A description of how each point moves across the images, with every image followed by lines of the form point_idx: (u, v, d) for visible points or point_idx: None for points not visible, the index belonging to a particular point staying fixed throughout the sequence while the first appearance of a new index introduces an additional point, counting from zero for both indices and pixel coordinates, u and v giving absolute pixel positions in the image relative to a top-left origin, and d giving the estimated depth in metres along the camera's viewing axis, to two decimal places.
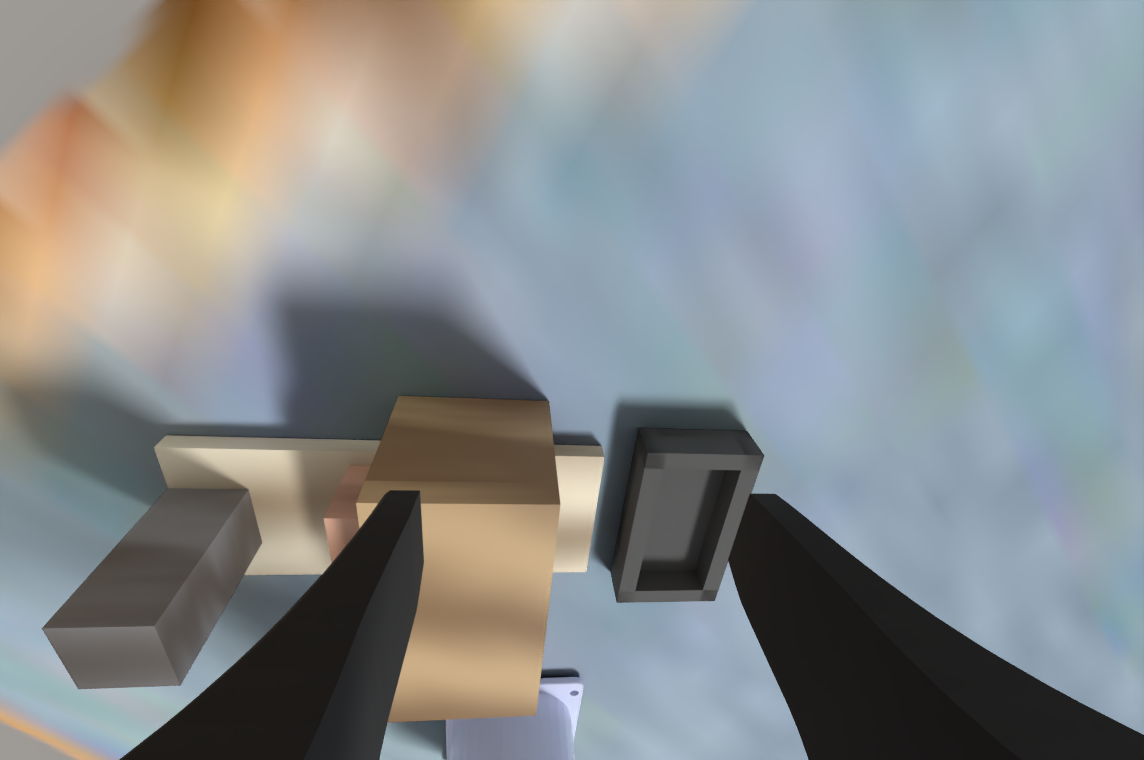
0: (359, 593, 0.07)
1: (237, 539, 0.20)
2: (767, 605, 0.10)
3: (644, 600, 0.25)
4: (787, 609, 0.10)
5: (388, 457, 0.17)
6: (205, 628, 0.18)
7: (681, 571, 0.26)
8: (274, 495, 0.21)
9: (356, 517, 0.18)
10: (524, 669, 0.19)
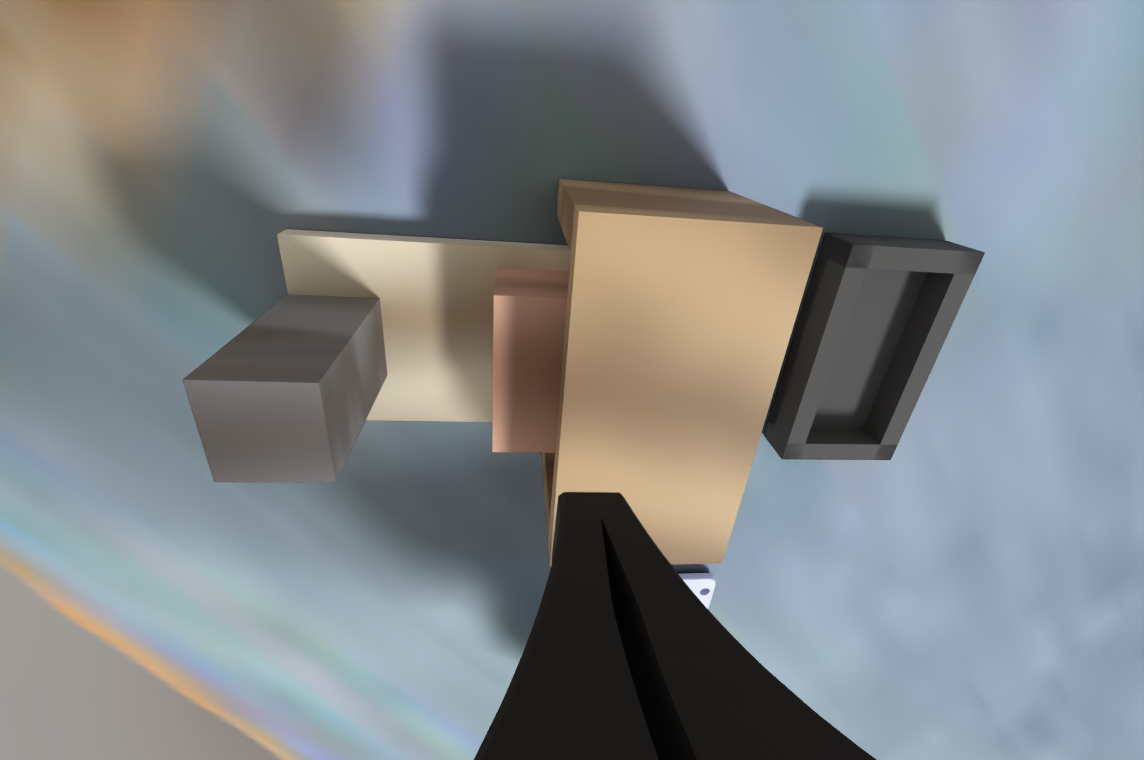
0: (598, 589, 0.08)
1: (372, 349, 0.17)
2: None
3: (813, 457, 0.22)
4: None
5: (586, 198, 0.14)
6: (352, 431, 0.15)
7: (848, 429, 0.23)
8: (408, 307, 0.18)
9: (531, 296, 0.15)
10: (723, 492, 0.16)
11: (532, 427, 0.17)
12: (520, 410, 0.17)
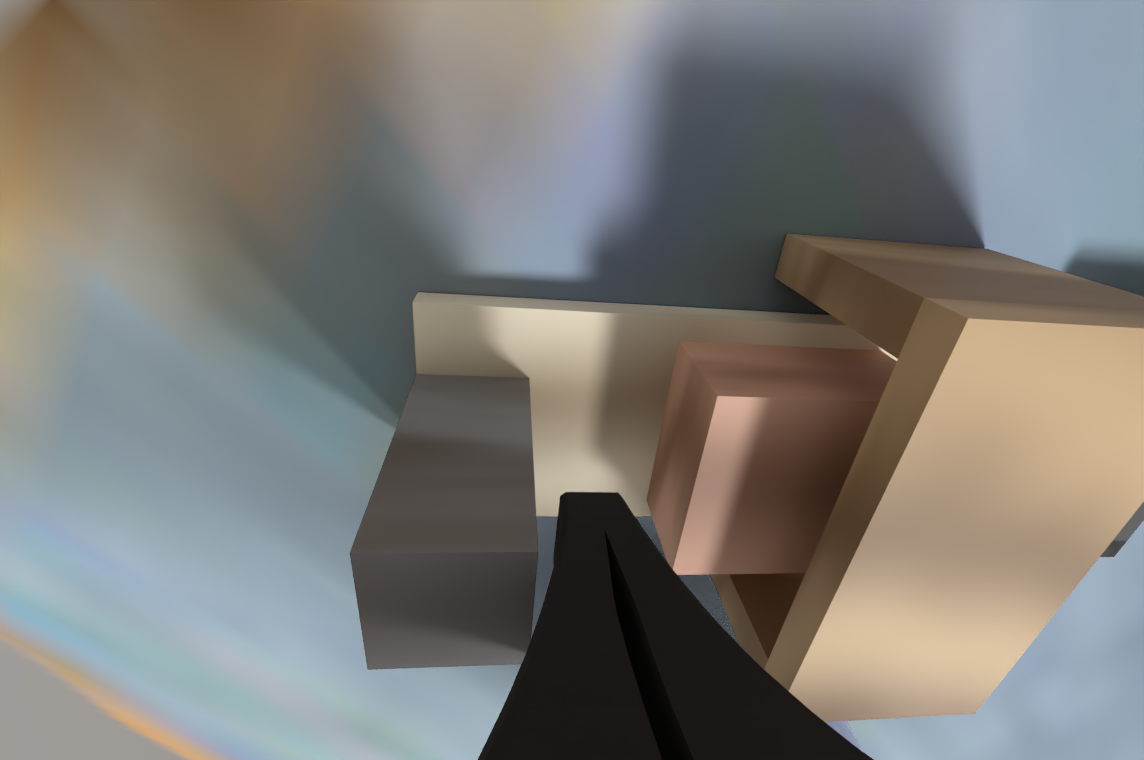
0: (600, 589, 0.08)
1: None
2: None
3: None
4: None
5: (902, 279, 0.10)
6: None
7: None
8: (562, 389, 0.14)
9: (762, 396, 0.11)
10: (1010, 641, 0.13)
11: (726, 547, 0.14)
12: (717, 527, 0.13)
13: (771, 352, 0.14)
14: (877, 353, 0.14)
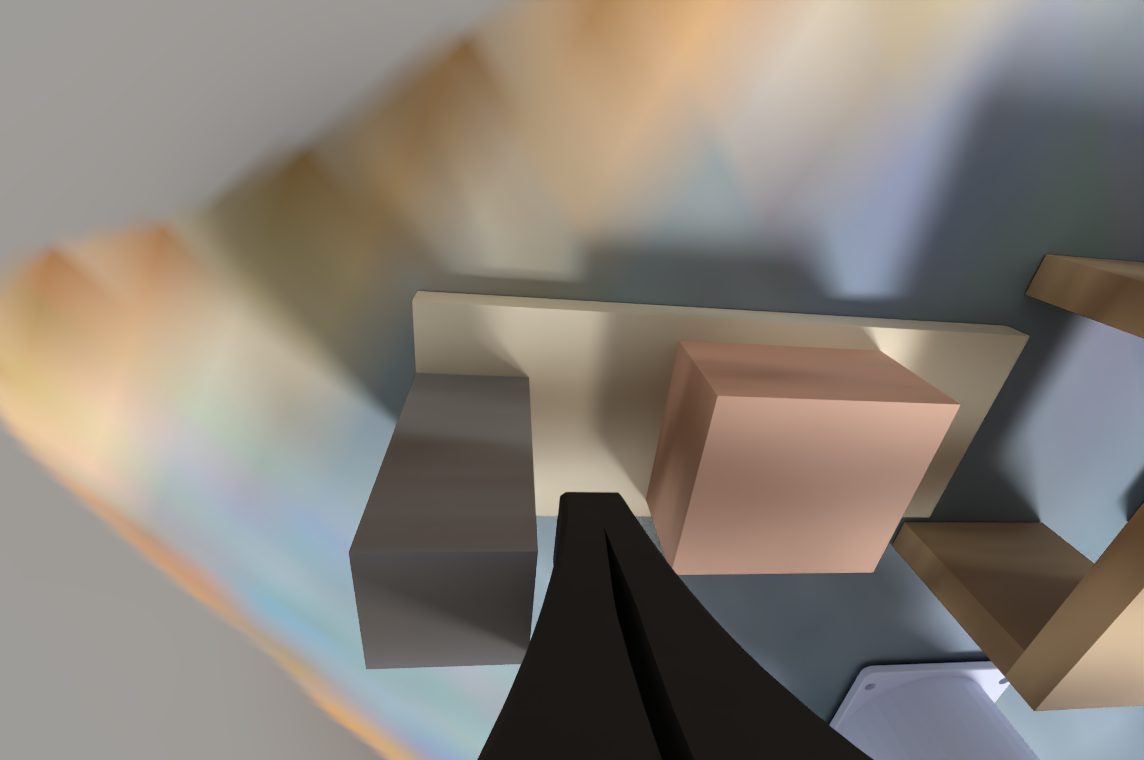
0: (600, 589, 0.08)
1: None
2: None
3: None
4: None
5: None
6: None
7: None
8: (561, 388, 0.14)
9: (763, 396, 0.11)
10: None
11: (726, 547, 0.13)
12: (716, 528, 0.13)
13: (771, 352, 0.14)
14: (877, 353, 0.14)
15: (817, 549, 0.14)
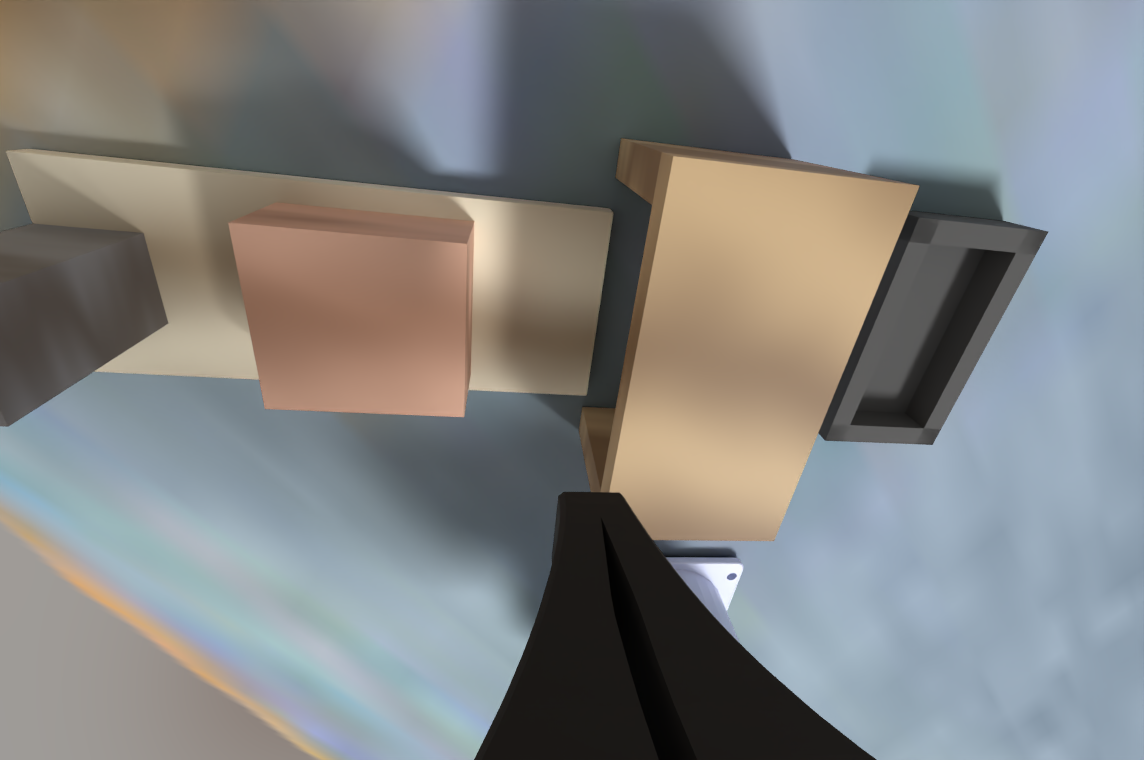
0: (598, 589, 0.08)
1: (122, 287, 0.15)
2: None
3: (856, 439, 0.21)
4: None
5: (667, 150, 0.13)
6: (61, 373, 0.13)
7: (890, 413, 0.22)
8: (179, 245, 0.16)
9: (274, 226, 0.13)
10: (784, 466, 0.16)
11: (306, 381, 0.15)
12: (288, 361, 0.15)
13: (355, 213, 0.16)
14: (465, 221, 0.16)
15: (397, 389, 0.16)
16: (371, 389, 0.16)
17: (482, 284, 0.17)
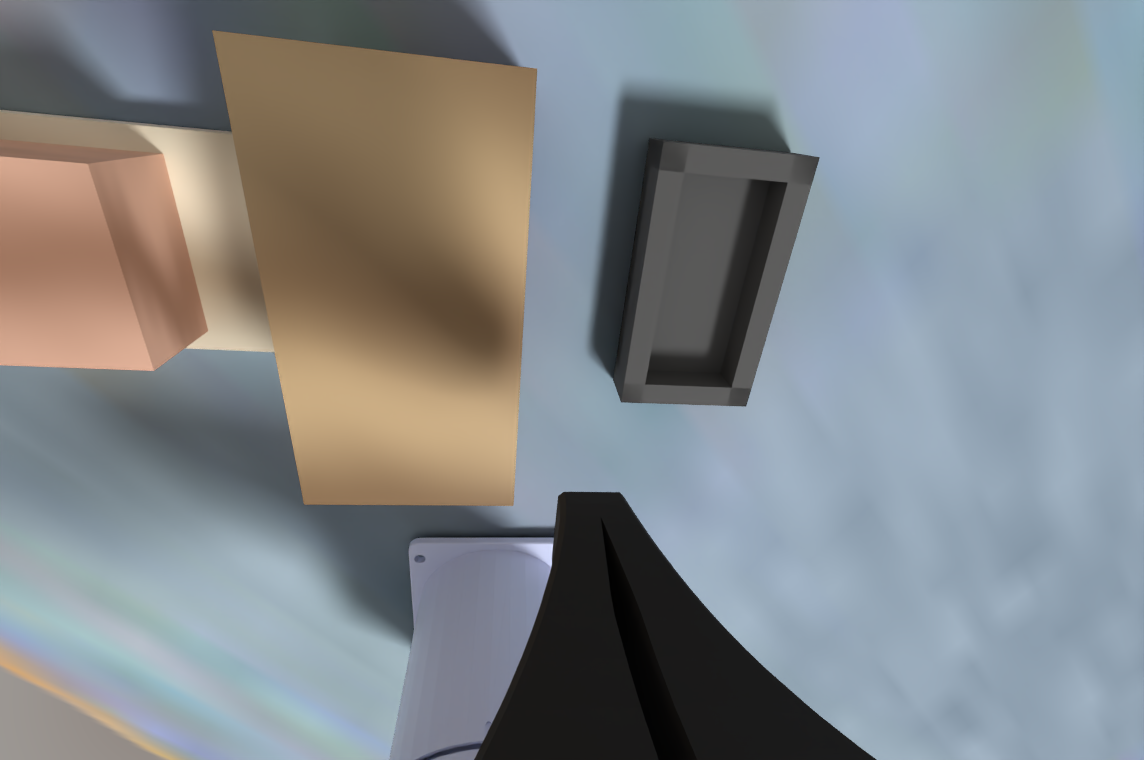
0: (598, 589, 0.08)
1: None
2: None
3: (657, 401, 0.19)
4: None
5: None
6: None
7: (703, 373, 0.20)
8: None
9: None
10: (494, 417, 0.14)
11: None
12: None
13: (10, 142, 0.14)
14: (148, 153, 0.15)
15: (63, 338, 0.14)
16: (33, 338, 0.14)
17: (193, 227, 0.16)
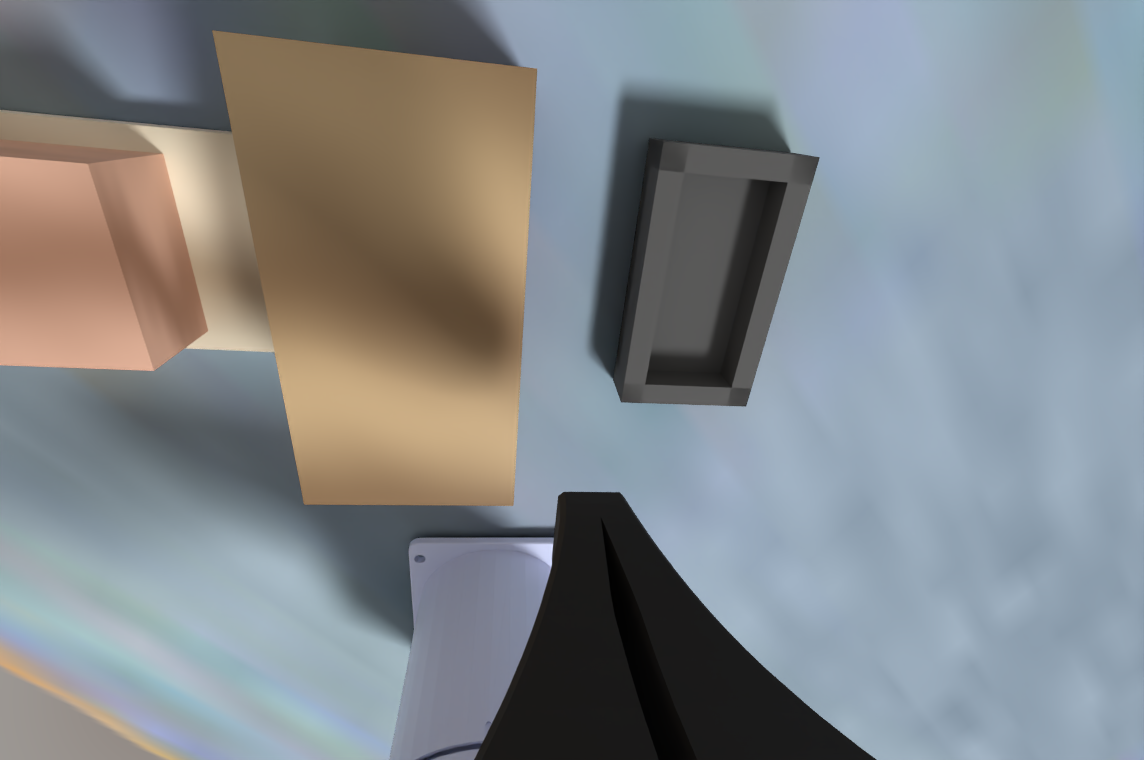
0: (598, 589, 0.08)
1: None
2: None
3: (657, 401, 0.19)
4: None
5: None
6: None
7: (703, 373, 0.20)
8: None
9: None
10: (494, 417, 0.14)
11: None
12: None
13: (10, 142, 0.14)
14: (148, 153, 0.15)
15: (63, 338, 0.14)
16: (33, 338, 0.14)
17: (193, 227, 0.16)
